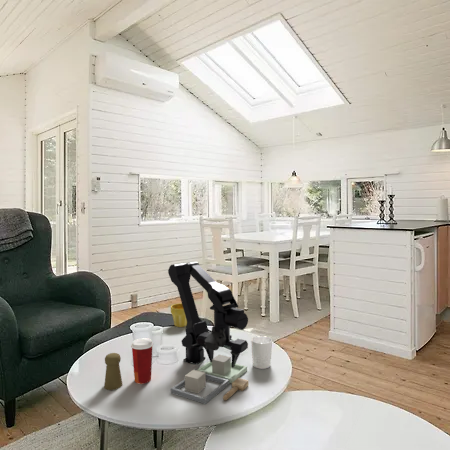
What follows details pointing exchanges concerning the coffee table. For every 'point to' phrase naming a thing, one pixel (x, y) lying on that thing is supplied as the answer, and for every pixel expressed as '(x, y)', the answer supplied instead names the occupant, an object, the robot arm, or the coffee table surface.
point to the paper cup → (142, 360)
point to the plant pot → (178, 315)
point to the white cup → (261, 351)
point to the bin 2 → (230, 376)
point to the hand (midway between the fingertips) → (222, 364)
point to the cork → (112, 372)
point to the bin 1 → (198, 398)
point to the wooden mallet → (236, 387)
